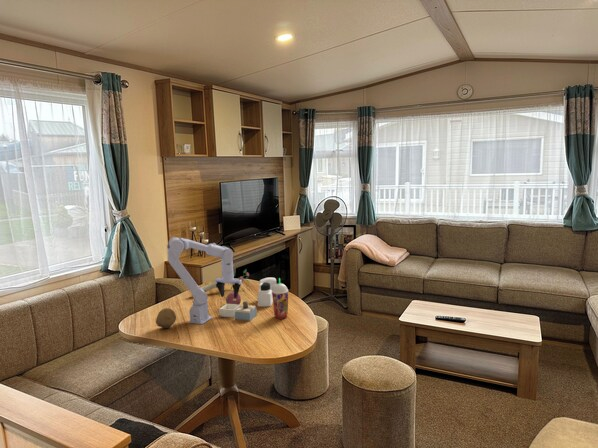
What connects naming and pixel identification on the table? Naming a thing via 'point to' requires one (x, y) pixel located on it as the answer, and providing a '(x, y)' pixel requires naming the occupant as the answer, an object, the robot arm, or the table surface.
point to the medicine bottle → (264, 295)
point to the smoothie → (280, 300)
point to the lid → (245, 308)
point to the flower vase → (213, 285)
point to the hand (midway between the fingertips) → (229, 296)
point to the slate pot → (245, 315)
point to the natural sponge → (165, 318)
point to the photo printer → (269, 280)
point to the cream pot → (228, 310)
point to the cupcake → (233, 299)
